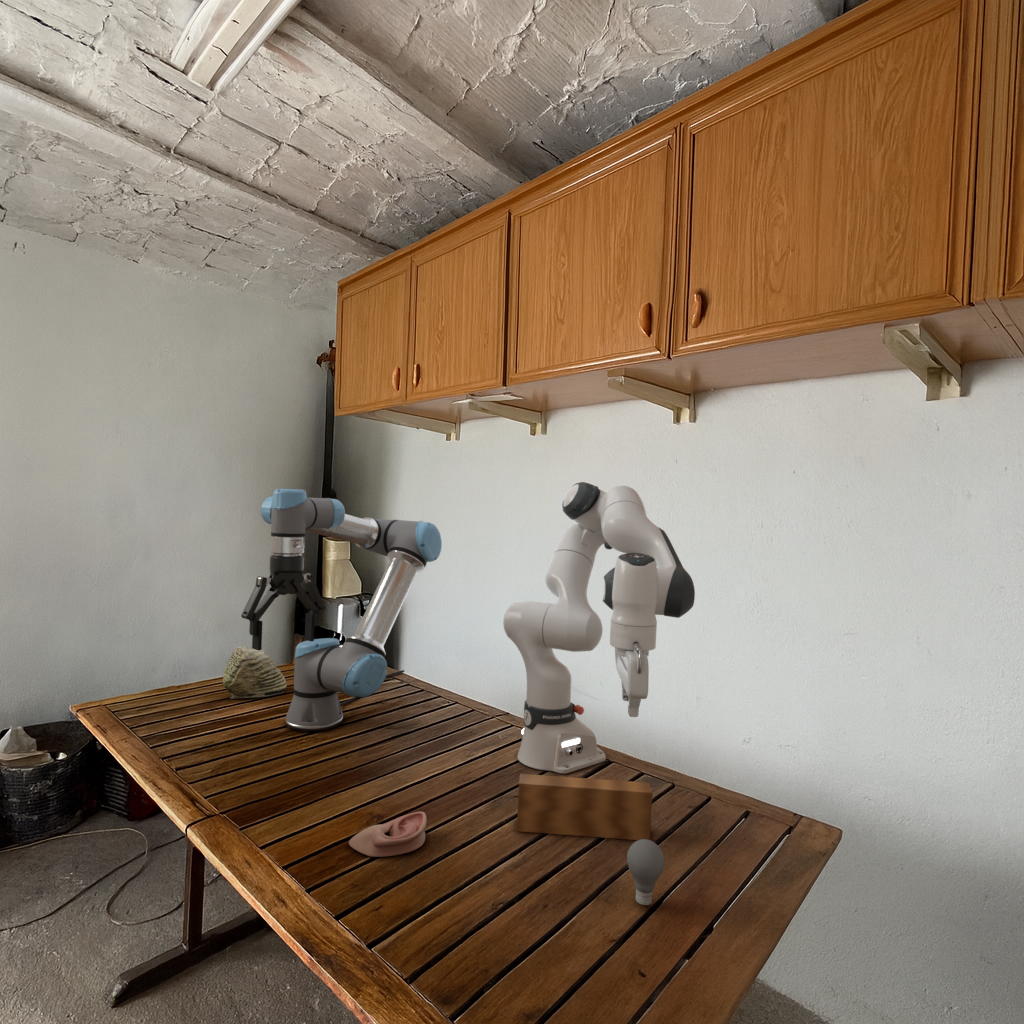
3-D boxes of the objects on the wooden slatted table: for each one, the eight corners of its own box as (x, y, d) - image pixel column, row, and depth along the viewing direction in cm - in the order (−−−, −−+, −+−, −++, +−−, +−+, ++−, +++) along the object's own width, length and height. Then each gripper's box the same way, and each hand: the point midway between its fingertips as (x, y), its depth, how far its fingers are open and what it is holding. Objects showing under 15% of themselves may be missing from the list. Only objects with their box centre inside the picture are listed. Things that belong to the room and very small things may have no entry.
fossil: (218, 695, 195) (220, 647, 195) (278, 685, 208) (279, 640, 207) (228, 703, 189) (230, 653, 188) (289, 692, 201) (290, 645, 201)
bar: (516, 831, 123) (518, 783, 123) (517, 820, 128) (519, 773, 127) (650, 841, 122) (652, 792, 122) (646, 829, 126) (648, 782, 126)
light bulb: (620, 891, 105) (623, 832, 105) (655, 891, 106) (658, 832, 106) (630, 915, 99) (633, 852, 99) (667, 914, 100) (670, 852, 100)
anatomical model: (341, 830, 113) (368, 800, 124) (340, 851, 113) (367, 820, 124) (411, 841, 110) (433, 810, 122) (411, 863, 111) (432, 830, 122)
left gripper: (244, 558, 136) (241, 656, 137) (341, 553, 156) (338, 639, 156) (227, 555, 141) (223, 650, 141) (323, 551, 160) (320, 634, 161)
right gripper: (658, 650, 113) (655, 727, 113) (641, 627, 133) (638, 693, 134) (623, 648, 113) (619, 725, 114) (611, 626, 134) (608, 691, 134)
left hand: (283, 644), depth 149 cm, fingers open, 13 cm apart
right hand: (629, 707), depth 124 cm, fingers open, 8 cm apart
